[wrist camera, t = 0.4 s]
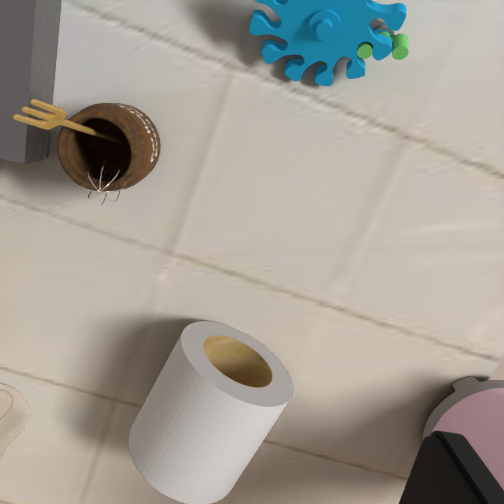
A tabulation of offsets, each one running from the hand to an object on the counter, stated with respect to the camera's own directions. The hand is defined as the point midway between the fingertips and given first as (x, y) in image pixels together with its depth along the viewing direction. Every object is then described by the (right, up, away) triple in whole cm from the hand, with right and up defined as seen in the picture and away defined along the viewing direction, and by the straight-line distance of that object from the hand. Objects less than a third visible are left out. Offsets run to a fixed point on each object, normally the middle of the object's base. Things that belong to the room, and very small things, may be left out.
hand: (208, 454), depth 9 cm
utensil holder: (-9, +13, +25) cm, 29 cm away
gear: (+6, +21, +23) cm, 31 cm away
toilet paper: (-3, -7, +32) cm, 33 cm away
